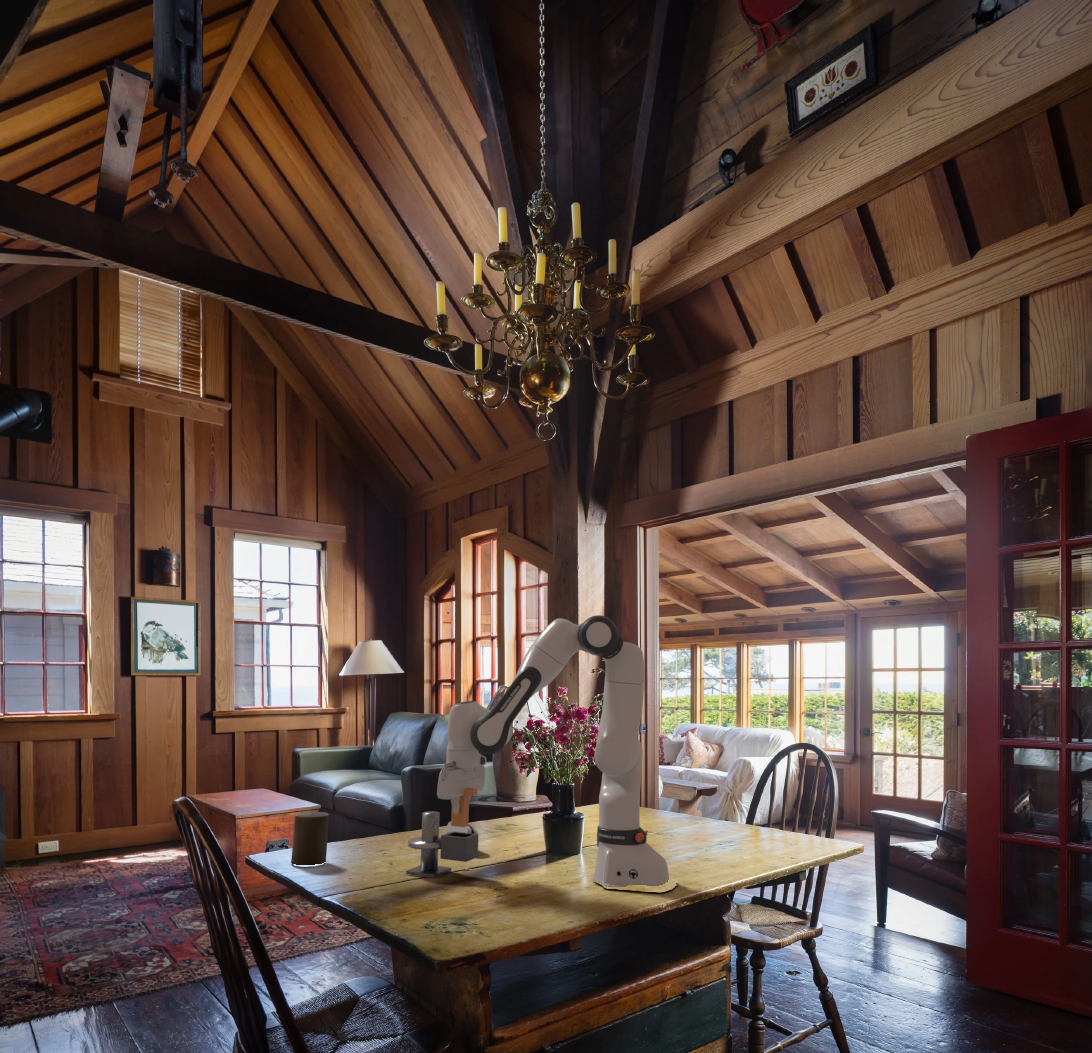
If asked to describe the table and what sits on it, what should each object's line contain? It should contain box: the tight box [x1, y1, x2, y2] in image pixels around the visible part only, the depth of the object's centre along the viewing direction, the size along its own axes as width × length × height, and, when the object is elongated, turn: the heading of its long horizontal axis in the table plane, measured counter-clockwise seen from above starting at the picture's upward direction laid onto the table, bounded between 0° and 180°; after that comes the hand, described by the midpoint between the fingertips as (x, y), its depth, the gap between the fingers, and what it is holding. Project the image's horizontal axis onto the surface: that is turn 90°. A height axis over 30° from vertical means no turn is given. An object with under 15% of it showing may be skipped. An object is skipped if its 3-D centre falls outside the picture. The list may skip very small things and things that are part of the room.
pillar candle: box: [290, 811, 330, 865], centre depth 241 cm, size 10×10×15 cm
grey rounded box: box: [443, 821, 479, 835], centre depth 260 cm, size 17×5×10 cm, turn 31°
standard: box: [405, 810, 479, 880], centre depth 231 cm, size 20×12×16 cm, turn 65°
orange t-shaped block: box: [450, 788, 478, 827], centre depth 230 cm, size 9×2×10 cm, turn 65°
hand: (460, 812), depth 230 cm, fingers closed on orange t-shaped block, 2 cm apart
